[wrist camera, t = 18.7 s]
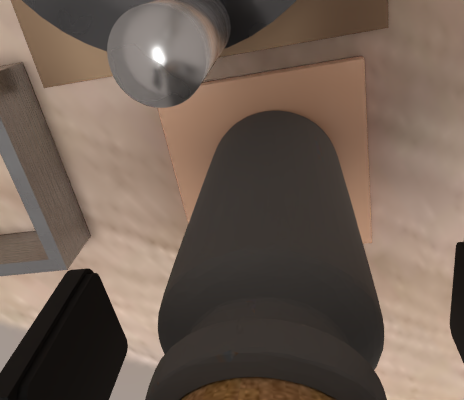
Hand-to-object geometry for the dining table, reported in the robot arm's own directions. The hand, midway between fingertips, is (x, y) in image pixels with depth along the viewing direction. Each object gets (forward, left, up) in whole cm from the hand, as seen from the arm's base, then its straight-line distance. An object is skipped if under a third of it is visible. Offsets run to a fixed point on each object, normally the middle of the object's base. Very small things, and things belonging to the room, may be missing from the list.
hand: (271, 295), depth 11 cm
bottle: (0, +1, -10) cm, 10 cm away
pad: (0, +1, -10) cm, 10 cm away
